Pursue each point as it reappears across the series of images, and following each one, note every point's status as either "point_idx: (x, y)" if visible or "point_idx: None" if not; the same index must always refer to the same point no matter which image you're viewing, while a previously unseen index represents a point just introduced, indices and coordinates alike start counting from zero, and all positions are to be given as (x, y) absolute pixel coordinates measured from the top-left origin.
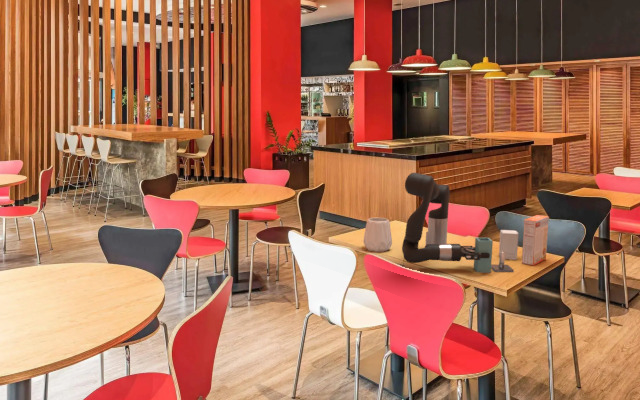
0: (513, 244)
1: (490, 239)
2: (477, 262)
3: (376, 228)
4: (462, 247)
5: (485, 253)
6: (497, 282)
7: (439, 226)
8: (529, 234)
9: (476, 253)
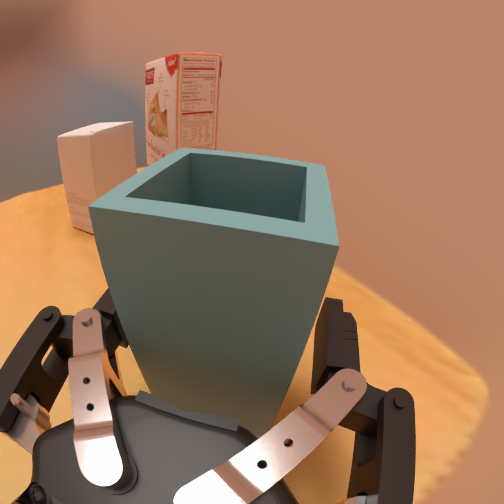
0: (126, 166)
1: (251, 154)
2: (263, 423)
3: None
4: (14, 407)
5: (343, 328)
6: (432, 393)
7: None
8: (199, 106)
9: (341, 419)
